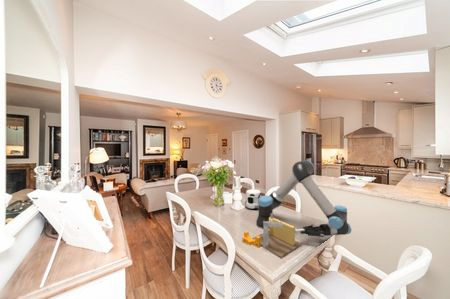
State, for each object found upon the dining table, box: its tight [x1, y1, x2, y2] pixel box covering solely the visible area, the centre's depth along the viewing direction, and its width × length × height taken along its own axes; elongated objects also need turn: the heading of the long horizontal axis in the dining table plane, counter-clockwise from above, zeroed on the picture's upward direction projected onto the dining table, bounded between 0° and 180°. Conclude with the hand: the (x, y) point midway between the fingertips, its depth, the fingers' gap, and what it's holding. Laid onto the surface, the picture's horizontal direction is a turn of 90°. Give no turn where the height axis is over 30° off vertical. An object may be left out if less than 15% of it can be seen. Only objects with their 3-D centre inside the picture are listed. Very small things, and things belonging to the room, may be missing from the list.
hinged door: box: [268, 212, 296, 246], centre depth 124 cm, size 20×4×15 cm, turn 36°
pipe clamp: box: [242, 230, 262, 248], centre depth 121 cm, size 12×4×6 cm, turn 47°
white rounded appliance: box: [244, 188, 262, 210], centre depth 188 cm, size 17×17×18 cm
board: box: [251, 230, 303, 259], centre depth 122 cm, size 22×25×1 cm
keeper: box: [262, 221, 283, 249], centre depth 116 cm, size 12×3×17 cm, turn 80°
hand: (295, 231), depth 120 cm, fingers closed
